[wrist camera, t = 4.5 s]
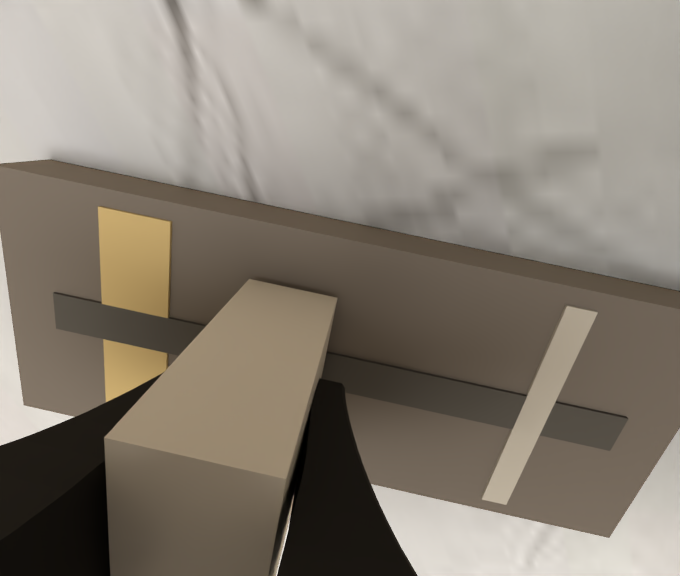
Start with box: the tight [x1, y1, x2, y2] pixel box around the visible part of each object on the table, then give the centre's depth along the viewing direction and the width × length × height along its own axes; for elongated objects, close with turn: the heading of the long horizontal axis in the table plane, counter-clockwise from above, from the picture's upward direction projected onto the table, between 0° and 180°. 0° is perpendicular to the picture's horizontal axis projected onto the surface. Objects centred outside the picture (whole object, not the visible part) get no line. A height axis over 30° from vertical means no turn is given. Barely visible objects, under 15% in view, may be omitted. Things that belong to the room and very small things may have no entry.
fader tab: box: [104, 279, 337, 576], centre depth 9 cm, size 2×5×6 cm, turn 170°
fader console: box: [0, 160, 680, 538], centre depth 13 cm, size 20×8×2 cm, turn 80°
